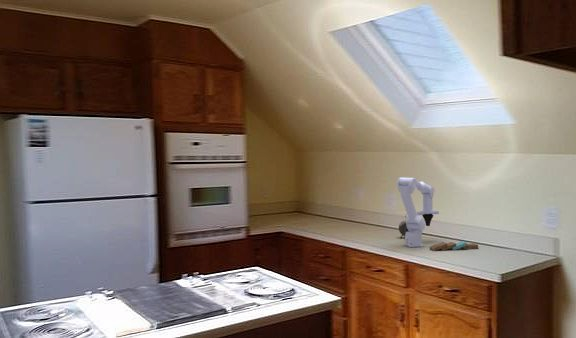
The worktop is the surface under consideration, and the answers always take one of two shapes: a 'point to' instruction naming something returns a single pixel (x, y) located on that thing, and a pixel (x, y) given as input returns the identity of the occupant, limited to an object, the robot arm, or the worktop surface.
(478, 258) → the worktop surface
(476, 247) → the domino
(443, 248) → the domino
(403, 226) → the alarm clock
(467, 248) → the domino
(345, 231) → the worktop surface
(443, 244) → the brown wooden block
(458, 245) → the teal domino
